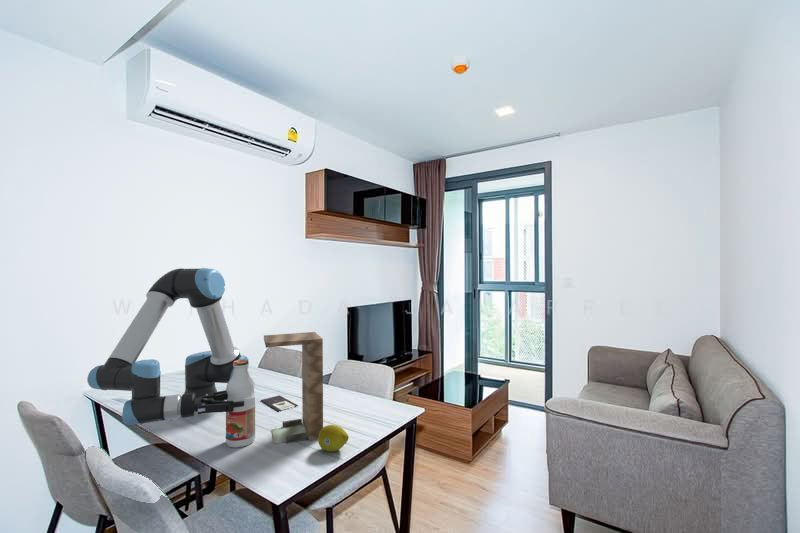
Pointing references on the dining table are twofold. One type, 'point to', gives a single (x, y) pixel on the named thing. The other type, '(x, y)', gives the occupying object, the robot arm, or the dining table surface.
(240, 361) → the fruit juice
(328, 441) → the lemon
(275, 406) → the chocolate bar
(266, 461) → the dining table surface
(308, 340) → the shelf
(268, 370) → the dining table surface
